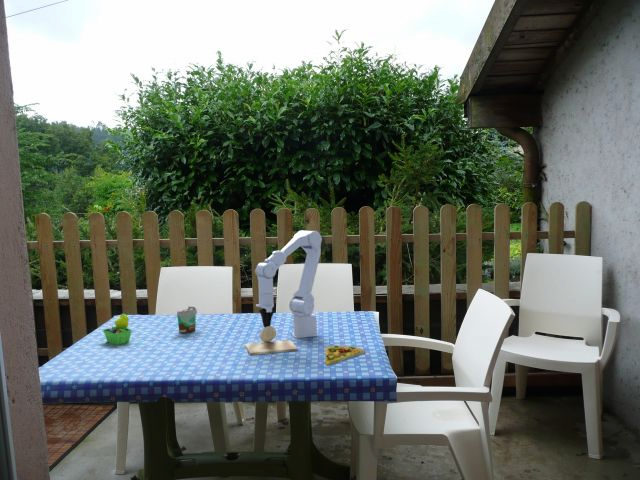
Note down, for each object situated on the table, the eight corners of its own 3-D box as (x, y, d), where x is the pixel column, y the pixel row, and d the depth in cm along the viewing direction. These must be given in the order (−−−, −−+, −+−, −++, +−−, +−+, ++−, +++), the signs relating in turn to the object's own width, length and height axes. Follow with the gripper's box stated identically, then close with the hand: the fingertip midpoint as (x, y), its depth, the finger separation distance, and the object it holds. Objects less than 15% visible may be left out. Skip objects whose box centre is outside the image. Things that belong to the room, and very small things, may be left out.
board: (290, 341, 225) (290, 339, 225) (297, 350, 212) (297, 348, 212) (245, 346, 221) (245, 344, 221) (249, 355, 208) (249, 353, 208)
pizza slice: (366, 353, 208) (366, 345, 208) (347, 369, 189) (347, 360, 189) (327, 350, 214) (327, 342, 214) (305, 365, 195) (305, 357, 195)
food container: (191, 335, 241) (189, 312, 240) (177, 334, 243) (176, 311, 242) (202, 328, 253) (201, 306, 253) (189, 328, 255) (188, 306, 254)
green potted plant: (102, 341, 234) (101, 315, 233) (122, 337, 240) (121, 311, 239) (115, 346, 226) (114, 318, 225) (136, 341, 232) (134, 314, 231)
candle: (260, 328, 226) (263, 325, 216) (273, 329, 227) (277, 326, 217) (259, 341, 224) (261, 339, 215) (272, 343, 225) (276, 340, 216)
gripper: (253, 290, 228) (254, 324, 229) (258, 296, 214) (259, 331, 215) (270, 290, 229) (271, 322, 230) (276, 295, 215) (277, 330, 216)
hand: (266, 327), depth 223 cm, fingers closed
